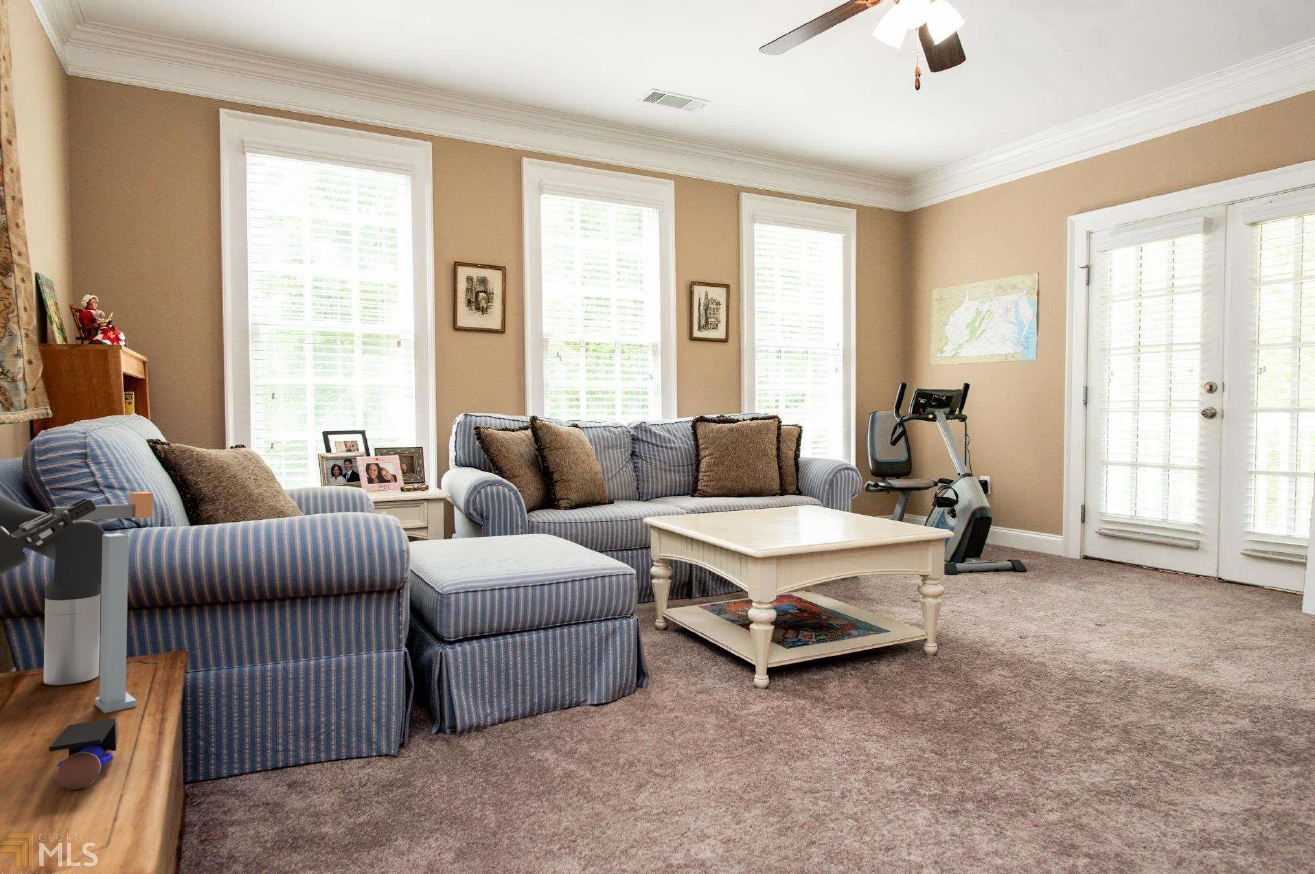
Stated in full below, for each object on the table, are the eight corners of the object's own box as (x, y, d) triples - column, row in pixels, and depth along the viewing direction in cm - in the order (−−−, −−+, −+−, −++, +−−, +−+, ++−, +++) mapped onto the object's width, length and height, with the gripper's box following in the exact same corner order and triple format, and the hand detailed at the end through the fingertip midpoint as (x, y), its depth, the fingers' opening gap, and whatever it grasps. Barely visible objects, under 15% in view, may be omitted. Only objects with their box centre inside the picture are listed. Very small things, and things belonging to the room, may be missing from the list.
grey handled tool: (50, 520, 142) (51, 494, 142) (145, 515, 153) (145, 491, 153) (56, 522, 139) (56, 496, 139) (152, 517, 150) (152, 493, 150)
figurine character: (68, 769, 123) (44, 798, 109) (70, 718, 123) (47, 741, 110) (120, 762, 126) (103, 789, 112) (122, 712, 127) (105, 733, 113)
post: (94, 704, 148) (97, 534, 148) (125, 697, 152) (128, 532, 152) (104, 713, 143) (107, 537, 144) (136, 706, 147) (139, 535, 147)
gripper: (-24, 544, 127) (88, 487, 139) (-36, 536, 137) (70, 483, 148) (5, 581, 130) (113, 523, 141) (-9, 571, 140) (93, 517, 151)
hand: (90, 503), depth 145 cm, fingers closed on grey handled tool, 2 cm apart
